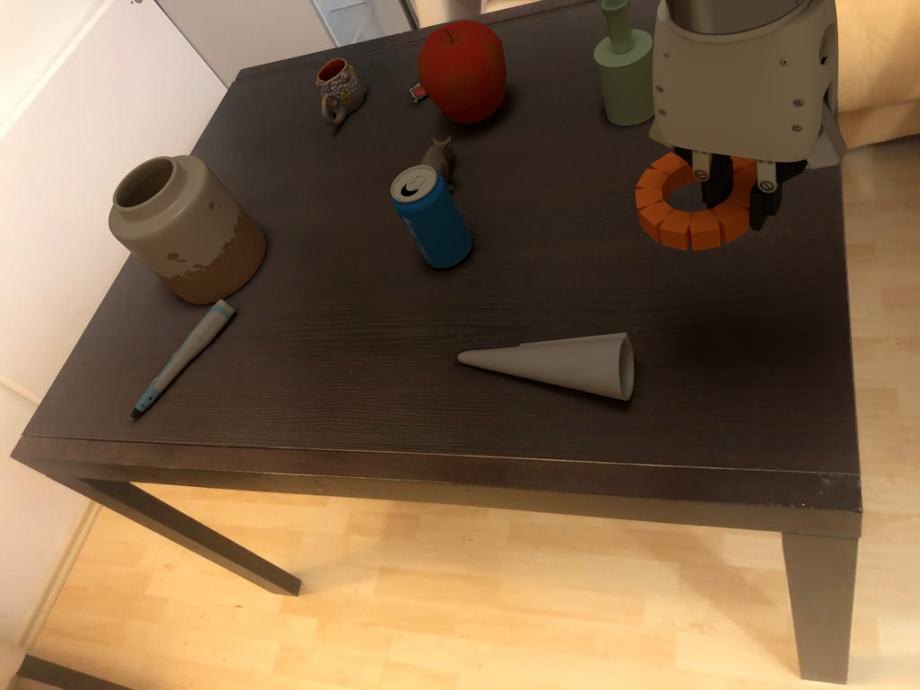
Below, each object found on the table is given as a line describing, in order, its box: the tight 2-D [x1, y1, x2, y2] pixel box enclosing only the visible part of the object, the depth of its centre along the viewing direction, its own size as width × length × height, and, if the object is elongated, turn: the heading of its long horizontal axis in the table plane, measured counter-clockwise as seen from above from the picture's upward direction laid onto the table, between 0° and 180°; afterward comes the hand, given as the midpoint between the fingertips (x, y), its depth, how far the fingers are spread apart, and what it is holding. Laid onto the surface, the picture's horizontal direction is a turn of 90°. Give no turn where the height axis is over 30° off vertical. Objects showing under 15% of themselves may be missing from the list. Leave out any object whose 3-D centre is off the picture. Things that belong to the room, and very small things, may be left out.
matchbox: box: [409, 82, 428, 104], centre depth 107 cm, size 5×5×1 cm
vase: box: [107, 154, 267, 305], centre depth 94 cm, size 15×15×17 cm
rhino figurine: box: [419, 135, 455, 192], centre depth 91 cm, size 4×14×6 cm, turn 161°
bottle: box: [593, 0, 655, 127], centre depth 83 cm, size 7×7×15 cm
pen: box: [129, 299, 236, 420], centre depth 90 cm, size 19×3×3 cm, turn 143°
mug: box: [315, 57, 367, 128], centre depth 109 cm, size 12×7×7 cm, turn 168°
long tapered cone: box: [457, 332, 635, 402], centre depth 70 cm, size 6×6×19 cm
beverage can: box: [390, 164, 473, 269], centre depth 81 cm, size 6×6×12 cm
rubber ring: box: [634, 151, 757, 252], centre depth 52 cm, size 9×9×2 cm
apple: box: [416, 19, 508, 124], centre depth 94 cm, size 12×12×14 cm
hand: (741, 210), depth 50 cm, fingers closed on rubber ring, 2 cm apart
